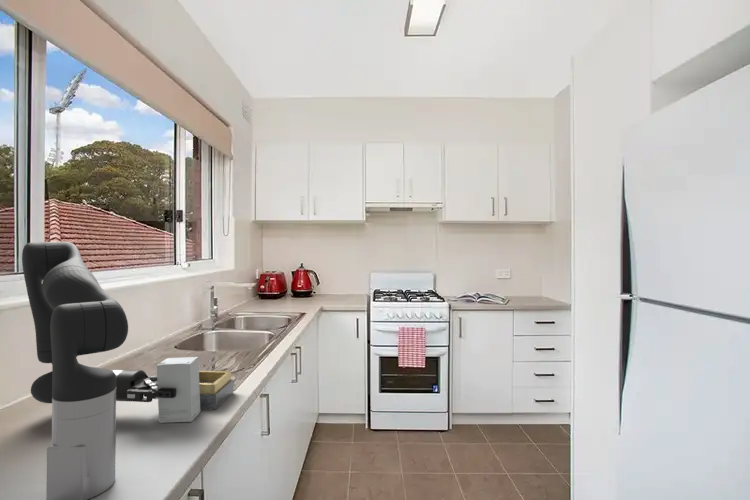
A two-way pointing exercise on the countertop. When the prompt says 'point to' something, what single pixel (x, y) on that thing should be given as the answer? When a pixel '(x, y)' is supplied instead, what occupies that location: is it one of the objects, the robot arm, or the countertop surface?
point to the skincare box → (179, 389)
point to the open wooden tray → (214, 388)
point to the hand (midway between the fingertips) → (184, 386)
